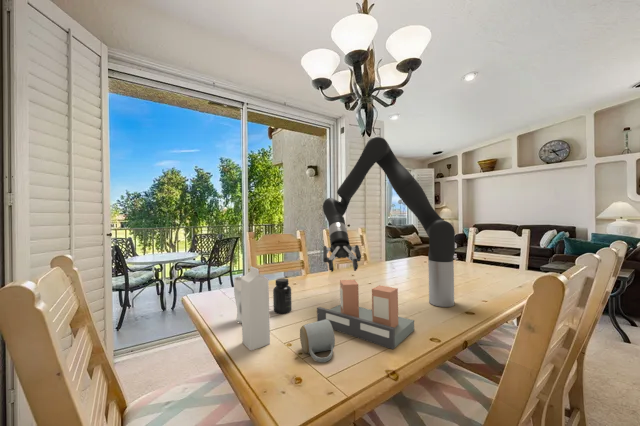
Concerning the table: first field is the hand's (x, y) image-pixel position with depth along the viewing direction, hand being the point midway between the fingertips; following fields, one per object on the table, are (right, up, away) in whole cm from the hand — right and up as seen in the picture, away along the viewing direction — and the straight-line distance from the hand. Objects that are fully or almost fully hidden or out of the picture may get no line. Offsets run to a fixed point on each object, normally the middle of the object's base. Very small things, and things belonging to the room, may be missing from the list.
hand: (344, 270), depth 99 cm
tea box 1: (+1, -13, -9) cm, 16 cm away
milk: (-27, -17, -21) cm, 38 cm away
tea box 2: (+11, -13, -17) cm, 24 cm away
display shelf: (+6, -16, -11) cm, 20 cm away
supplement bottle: (-23, -17, +4) cm, 29 cm away
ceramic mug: (-9, -17, -26) cm, 32 cm away
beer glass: (-35, -17, -4) cm, 39 cm away
